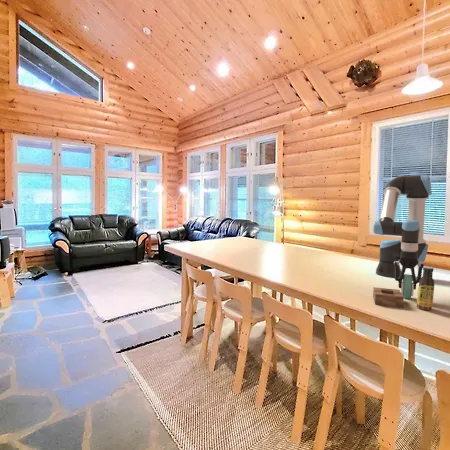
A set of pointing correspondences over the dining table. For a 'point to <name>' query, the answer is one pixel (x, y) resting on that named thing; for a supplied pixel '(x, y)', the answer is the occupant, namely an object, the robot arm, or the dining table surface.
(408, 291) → the dowel
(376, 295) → the socket block
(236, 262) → the dining table surface
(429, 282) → the sauce bottle
